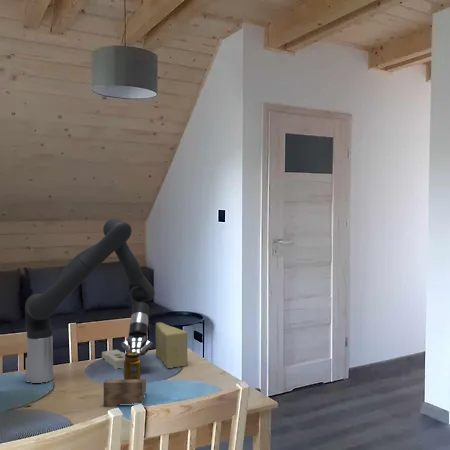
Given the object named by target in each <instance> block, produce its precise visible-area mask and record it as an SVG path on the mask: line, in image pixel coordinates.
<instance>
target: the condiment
mask: <svg viewBox="0 0 450 450" xmlns="http://www.w3.org/2000/svg"><path fill="white" fill-rule="evenodd" d="M128 379H141V360H140V357H139V353H137V351H136V352H128V353H127V352H126V353H125V361H124V368H123V380H128Z"/></svg>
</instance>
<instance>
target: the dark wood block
mask: <svg viewBox="0 0 450 450" xmlns="http://www.w3.org/2000/svg"><path fill="white" fill-rule="evenodd" d="M145 392H146V393H147V379H146V378H142V379H141V378H140V379H128V380H124V379H112V378H111V379H105V380H104V382H103V407H118V406H117V405H120V404H132V403H133V404H134V403H142V402H143V398H144V395H145ZM145 396H146V395H145ZM143 403H144V402H143Z"/></svg>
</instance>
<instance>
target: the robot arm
mask: <svg viewBox="0 0 450 450" xmlns="http://www.w3.org/2000/svg"><path fill="white" fill-rule="evenodd" d="M102 228H103V229H102V231H103V234H104V237H103V238H102V239H101V240H100V241H97V243H95V244H94V245H91V246H90V247H88V248H86V249H84V250H83V251H81V252H79V253H78V254H76V255H75V256H74V257H73V258H72V259H71V260H70V261H69V262H68V263H67V264H66V265H65V267H63V269H62V270H61V272H60V274H59V275H58V277H57V278H56V280H55V281H54V283H53V284H52V285H51V286H49V287H48V288H47V289H46V290H45V291H44V292H42V293H35V294H32V295H30V296H29V297H28V298H27V299H26V301H25V306H24V315H25V316H24V319H25V329H26V345H27V346H26V347H27V348H26V351H27V354H26V355H27V356H26V357H25V358H24V359H25V361H24V362H25V382H26V381H29V382H33V383H41V384H43V383H42V382H46V383H49V382H51V381H53V379H54V359H53V358H54V350H53V343H54V342H53V327H52V324H51V316H52V315H53V314H54V312H55V311H56V310H57V309H58V308H59V306H60V305H61V304H63V301H64V300H65V299H66V298H68V296H69V295H70V294H71V293H73V292H74V291H75V290H76V289H77V288H78V287H79V286H80V285H81V284H82V283H83V282H84V281H85V280H86V279H88V278H89V276H91V275H92V274H93V272H94V271H96V269H97V268H98V267H99V266H101V265H102V263H103V262H104V261H106V259H108V257H109V256H110V255H112V254H113V253H115V255H116V256H117V259H118V260H119V263H120V265H121V267H122V268H123V272H124V274H125V277H126V279H127V282H128V284H130V285H131V286H133V287H132V288H131V289H130V292H129V296H130V301H131V308H132V309H131V318H130V320H129V330H128V335H127V336H128V337H127V338H126V340H125V341H122V342H121V343H120V344H121V346H122V347H121V348H122V349H123V350H124V352H126V353H128V352H137V353H139V358H140V357H141V356H146V355H145V354H147V353H148V352H149V350H151V349H152V348H153V341H149V339H148V331H149V313H150V311H149V310H150V306H149V305H148V303H146V302H147V301H152V300H153V299H154V297H155V294H156V293H155V289H154V287H153V285H152V284H151V283H150V282H149V280H148V279H147V278H146V276H145V275H144V272H143V270H142V267H141V265H140V263H139V261H138V259H137V258H136V257H135V255H134V254H133V252H132V250H131V249H130V247H129V246H128V243H127V242H128V241H129V239H130V237H131V235H132V226H131V225H130V224H129V223H127V222H125V221H123V220H120V219H115V218H111V219H108V220H107V221H106V222H104V225H103V227H102ZM128 346H129V347H130V348H131V349H130V348H129V347H128ZM48 381H49V382H48Z"/></svg>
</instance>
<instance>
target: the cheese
mask: <svg viewBox="0 0 450 450" xmlns="http://www.w3.org/2000/svg"><path fill="white" fill-rule="evenodd" d="M157 355H158V356H157ZM155 356H157V357H158V359H160V361H161V360H162V361H163V362H164V363H163V362H162V361H161V362H162V363H163V364H164V366H165V365H166V366H165V368H166V369H168V368H171V367H177V368H182V367H186V366H188V332H187V331H185V330H183V329H180V328H177V327H174V326H172V325H171V326H170V325H168V324H166V323H164V322H161V321H160V322H159V321H158V322H156V323H155ZM180 366H182V367H180Z"/></svg>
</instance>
